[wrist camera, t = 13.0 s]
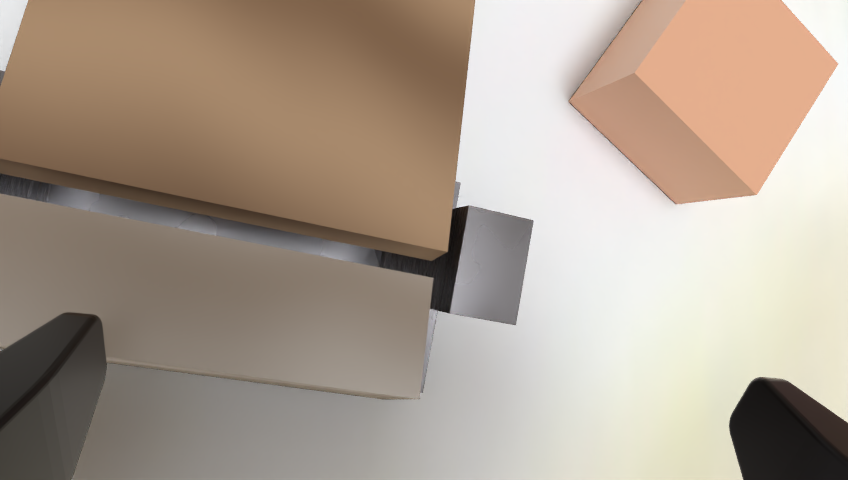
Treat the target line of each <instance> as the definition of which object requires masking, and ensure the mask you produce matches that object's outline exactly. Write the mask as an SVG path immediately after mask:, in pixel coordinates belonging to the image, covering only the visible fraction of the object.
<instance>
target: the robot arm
mask: <svg viewBox="0 0 848 480" xmlns="http://www.w3.org/2000/svg"><path fill="white" fill-rule="evenodd" d="M106 368H107V361H106V352H105V343H104V334H103V325H102V321H101V319H100V318H99V317H98V316H97V315H94V314H85V313H75V312H65V313H62V314H60V315H58V316H57V317H55V318H53V319H52V320H50V321H49V322H47V323H45V324H44V325H42V326H41V327H39V328H37V329H36V330H34V331H32V332H31V333H29V334H28V335H26V336H24V337H23V338H21V339H19V340H18V341H16V342H15V343H13V344H11V345H10V346H8V347H7V348H5V349H3V350H2V351H0V480H72V477H73V474H74V471H75V468H76V465H77V462H78V459H79V456H80V453H81V450H82V447H83V444H84V441H85V438H86V435H87V432H88V429H89V426H90V423H91V420H92V417H93V414H94V411H95V408H96V405H97V402H98V399H99V396H100V392H101V389H102V386H103V383H104V380H105V375H106ZM729 429H730V435H731V438H732V442H733V445H734V449H735V452H736V456H737V459H738V463H739V466H740V470H741V473H742V477H743V480H848V423H847V422H846V421H844V420H843V419H841V418H840V417H839V416H837V415H836V414H834V413H833V412H831V411H830V410H828V409H827V408H826V407H824V406H823V405H821V404H820V403H818V402H817V401H816V400H814V399H813V398H811V397H810V396H808V395H807V394H806V393H804V392H803V391H801V390H800V389H798V388H797V387H796V386H794V385H793V384H791V383H790V382H788V381H786V380H783V379H777V378H767V377H758V378H756V379H754V380H753V381H751V383H750V384H749V385H748V387H747V389H746V391H745V392H744V394H743V396H742V397H741V399H740V401H739V402H738V404H737V406H736V407H735V409H734V411H733V413H732V415H731V417H730V423H729Z"/></svg>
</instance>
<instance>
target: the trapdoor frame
mask: <svg viewBox="0 0 848 480" xmlns="http://www.w3.org/2000/svg"><path fill="white" fill-rule="evenodd" d="M4 74H5V72H4V71H0V86H1V83H2V80H3V77H4ZM459 189H460V183H459V182H455V189H454V198H453V207H452V216H451V225H450V234H449V243H448V252H446V253H445V254H443V255H441V256H439V257H438V258H436V259H434V260H432V261H430V260H425V259H420V258H415V257H410V256H405V255H400V254H395V253H391V252H386V251H381V250H376V249H371V248H366V247H361V246H356V245H351V244H346V243H341V242H336V241H331V240H326V239H322V238H317V237H312V236H307V235H302V234H297V233H292V232H287V231H282V230H277V229H272V228H267V227H262V226H257V225H252V224H248V223H243V222H238V221H233V220H228V219H223V218H218V217H213V216H208V215H203V214H198V213H193V212H188V211H183V210H178V209H174V208H169V207H164V206H159V205H154V204H149V203H144V202H139V201H134V200H129V199H124V198H119V197H114V196H109V195H105V194H100V193H95V192H90V191H85V190H80V189H75V188H70V187H65V186H60V185H55V184H50V183H45V182H40V181H35V180H31V179H26V178H21V177H16V176H11V175H6V174H1V173H0V194H5V195H10V196H15V197H20V198H25V199H30V200H36V201H41V202H46V203H51V204H56V205H61V206H66V207H72V208H77V209H82V210H87V211H92V212H97V213H102V214H108V215H113V216H118V217H123V218H128V219H133V220H138V221H143V222H149V223H154V224H159V225H164V226H169V227H174V228H179V229H185V230H190V231H195V232H200V233H205V234H210V235H215V236H221V237H226V238H231V239H236V240H241V241H246V242H251V243H256V244H262V245H267V246H272V247H277V248H282V249H287V250H292V251H298V252H303V253H308V254H313V255H318V256H323V257H328V258H334V259H339V260H344V261H349V262H354V263H359V264H364V265H369V266H375V267H380V268H385V269H390V270H395V271H400V272H405V273H411V274H416V275H421V276H426V277H431V278H433V286H432V295H431V303H430V312H429V321H428V330H427V338H426V347H425V356H424V365H423V373H422V382H421V391H420V393H423V388H424V383H425V377H426V371H427V366H428V360H429V355H430V349H431V344H432V338H433V333H434V327H435V322H436V316H437V311H442V312H446V313H451V314H456V315H462V316H467V317H473V318H478V319H484V320H490V321H495V322H501V323H506V324H512V325H516V321H517V315H518V309H519V303H520V297H521V291H522V285H523V279H524V274H525V268H526V262H527V256H528V250H529V244H530V238H531V232H532V227H533V220H529V219H525V218H521V217H516V216H512V215H508V214H503V213H499V212H495V211H491V210H486V209H482V208H478V207H473V206H464V207H459V208H456V206H457V200H458V195H459Z"/></svg>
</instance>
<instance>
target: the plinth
mask: <svg viewBox="0 0 848 480" xmlns="http://www.w3.org/2000/svg"><path fill="white" fill-rule="evenodd" d="M837 65H838V63H837V62H836V61H835V60H834V59H833V58H832V56H831V55H830V54H829V53H828V52H827V51H826V50H825V49H824V47H823V46H822V45H821V44H820V43H819V42H818V41H817V40H816V38H815V37H814V36H813V35H812V34H811V33H810V32H809V31H808V30H807V28H806V27H805V26H804V25H803V24H802V23H801V22H800V21H799V19H798V18H797V17H796V16H795V15H794V14H793V13H792V12H791V11H790V9H789V8H788V7H787V6H786V5H785V4H784V3H783V2H782V0H642V2H641V3H640V4H639V6H638V7H637V8H636V10H635V11H634V13H633V14H632V15H631V17H630V18H629V19H628V21H627V22H626V24H625V25H624V26H623V28H622V29H621V30H620V32H619V33H618V34H617V36H616V37H615V39H614V40H613V41H612V43H611V44H610V45H609V47H608V48H607V50H606V51H605V52H604V54H603V55H602V56H601V58H600V59H599V61H598V62H597V63H596V65H595V66H594V67H593V69H592V70H591V72H590V73H589V74H588V76H587V77H586V78H585V80H584V81H583V82H582V84H581V85H580V87H579V88H578V89H577V91H576V92H575V93H574V95H573V96H572V98H571V99H570V100H569V102H570V103H571V104H572V105H573V106H574V107H575V108H576V109H577V110H578V111H579V112H580V113H581V114H582V115H583V116H584V117H585V118H586V119H587V120H589V121H590V122H591V123H592V124H593V125H594V126H595V127H596V128H597V129H598V130H599V131H600V132H601V133H602V134H603V135H604V136H605V137H606V138H607V139H608V140H609V141H611V142H612V143H613V144H614V145H615V146H616V147H617V148H618V149H619V150H620V151H621V152H622V153H623V154H624V155H625V156H626V157H627V158H628V159H629V160H630V161H631V162H633V163H634V164H635V165H636V166H637V167H638V168H639V169H640V170H641V171H642V172H643V173H644V174H645V175H646V176H647V177H648V178H649V179H650V180H651V181H652V182H654V183H655V184H656V185H657V186H658V187H659V188H660V189H661V190H662V191H663V192H664V193H665V194H666V195H667V196H668V197H669V198H670V199H671V200H672V201H673V202H674V203H676V204H682V203H691V202H700V201H708V200H717V199H726V198H734V197H743V196H751V195H757V194H758V192H759V190H760V189H761V187H762V186H763V184H764V182H765V181H766V179H767V178H768V176H769V174H770V173H771V171H772V170H773V168H774V166H775V165H776V163H777V162H778V160H779V158H780V157H781V155H782V154H783V152H784V150H785V149H786V147H787V145H788V144H789V142H790V141H791V139H792V137H793V136H794V134H795V133H796V131H797V129H798V128H799V126H800V125H801V123H802V121H803V120H804V118H805V117H806V115H807V113H808V112H809V110H810V109H811V107H812V105H813V104H814V102H815V101H816V99H817V97H818V96H819V94H820V93H821V91H822V89H823V88H824V86H825V84H826V83H827V81H828V80H829V78H830V76H831V75H832V73H833V72H834V70H835V68H836V67H837Z"/></svg>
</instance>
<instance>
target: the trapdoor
mask: <svg viewBox="0 0 848 480" xmlns="http://www.w3.org/2000/svg"><path fill="white" fill-rule="evenodd" d="M474 6H475V0H28V3H27V6H26V9H25V12H24V15H23V19H22V22H21V25H20V28H19V31H18V34H17V37H16V40H15V43H14V46H13V49H12V52H11V55H10V58H9V61H8V64H7V68H6V71H5V74H4V77H3V80H2V83H1V86H0V173H1V174H6V175H11V176H16V177H21V178H26V179H31V180H35V181H40V182H45V183H50V184H55V185H60V186H65V187H70V188H75V189H80V190H85V191H90V192H95V193H100V194H105V195H109V196H114V197H119V198H124V199H129V200H134V201H139V202H144V203H149V204H154V205H159V206H164V207H169V208H174V209H178V210H183V211H188V212H193V213H198V214H203V215H208V216H213V217H218V218H223V219H228V220H233V221H238V222H243V223H248V224H252V225H257V226H262V227H267V228H272V229H277V230H282V231H287V232H292V233H297V234H302V235H307V236H312V237H317V238H322V239H326V240H331V241H336V242H341V243H346V244H351V245H356V246H361V247H366V248H371V249H376V250H381V251H386V252H391V253H395V254H400V255H405V256H410V257H415V258H420V259H425V260H430V261H432V260H434V259H436V258H438V257H439V256H441V255H443V254H445V253H446V252H448V243H449V234H450V225H451V216H452V207H453V198H454V189H455V180H456V170H457V161H458V152H459V143H460V134H461V125H462V116H463V107H464V98H465V88H466V79H467V70H468V61H469V52H470V43H471V34H472V25H473V15H474ZM432 286H433V278H431V277H426V276H421V275H416V274H411V273H405V272H400V271H395V270H390V269H385V268H380V267H375V266H369V265H364V264H359V263H354V262H349V261H344V260H339V259H334V258H328V257H323V256H318V255H313V254H308V253H303V252H298V251H292V250H287V249H282V248H277V247H272V246H267V245H262V244H256V243H251V242H246V241H241V240H236V239H231V238H226V237H221V236H215V235H210V234H205V233H200V232H195V231H190V230H185V229H179V228H174V227H169V226H164V225H159V224H154V223H149V222H143V221H138V220H133V219H128V218H123V217H118V216H113V215H108V214H102V213H97V212H92V211H87V210H82V209H77V208H72V207H66V206H61V205H56V204H51V203H46V202H41V201H36V200H30V199H25V198H20V197H15V196H10V195H5V194H0V348H2V349H5V348H7V347H8V346H10V345H11V344H13V343H15V342H16V341H18V340H19V339H21V338H23V337H24V336H26V335H28V334H29V333H31V332H32V331H34V330H36V329H37V328H39V327H41V326H42V325H44V324H45V323H47V322H49V321H50V320H52V319H53V318H55V317H57V316H58V315H60V314H62V313H65V312H75V313H85V314H94V315H97V316H98V317H99V318H100V319H101V321H102V325H103V334H104V343H105V352H106V361H107V363H114V364H122V365H129V366H137V367H144V368H152V369H159V370H167V371H175V372H182V373H190V374H197V375H205V376H212V377H220V378H227V379H235V380H242V381H250V382H257V383H265V384H272V385H280V386H287V387H295V388H302V389H310V390H317V391H325V392H332V393H340V394H347V395H355V396H363V397H370V398H378V399H420V391H421V382H422V373H423V365H424V356H425V347H426V338H427V330H428V321H429V312H430V303H431V295H432Z"/></svg>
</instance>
